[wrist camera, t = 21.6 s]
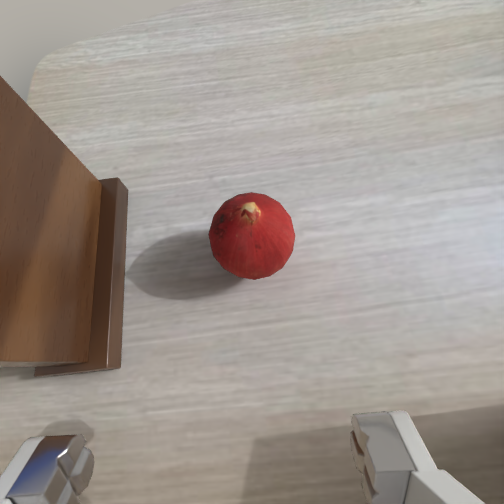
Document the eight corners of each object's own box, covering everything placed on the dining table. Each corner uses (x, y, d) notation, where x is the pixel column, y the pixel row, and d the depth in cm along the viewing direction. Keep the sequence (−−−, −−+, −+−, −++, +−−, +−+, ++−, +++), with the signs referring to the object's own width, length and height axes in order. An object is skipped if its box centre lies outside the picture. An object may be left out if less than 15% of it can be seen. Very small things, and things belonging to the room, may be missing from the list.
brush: (53, 375, 22) (-491, 402, 6) (73, 196, 28) (-197, -35, 12) (121, 368, 22) (-261, 375, 6) (128, 189, 27) (-69, -53, 12)
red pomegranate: (211, 283, 24) (183, 245, 17) (227, 217, 26) (208, 157, 18) (285, 295, 23) (291, 263, 16) (295, 227, 25) (306, 169, 18)
